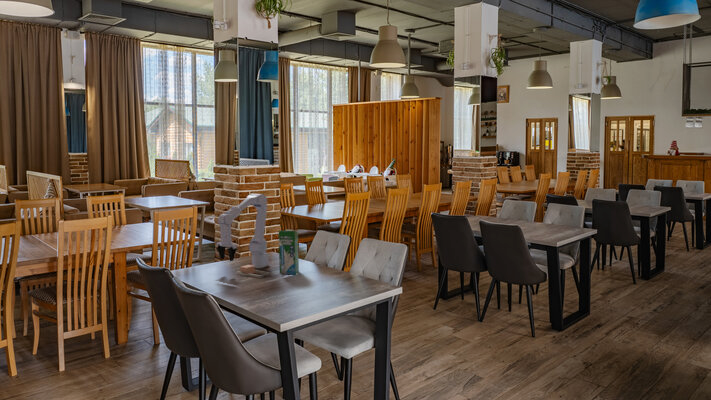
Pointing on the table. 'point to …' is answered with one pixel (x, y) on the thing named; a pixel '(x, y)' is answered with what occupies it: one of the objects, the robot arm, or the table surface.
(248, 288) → the table surface
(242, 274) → the chute
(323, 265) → the table surface
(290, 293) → the table surface
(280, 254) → the milk carton
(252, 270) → the block
